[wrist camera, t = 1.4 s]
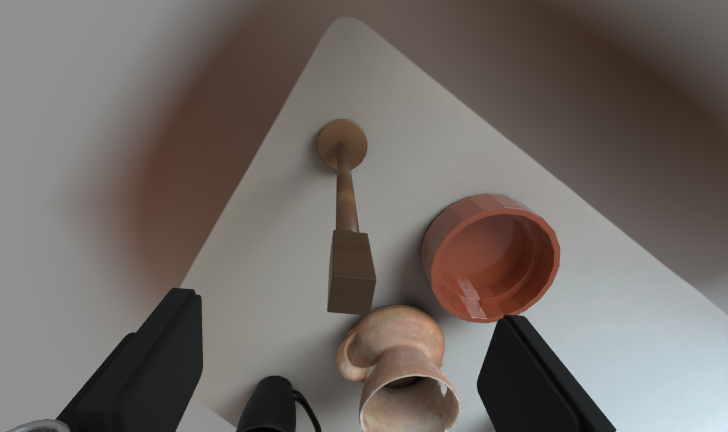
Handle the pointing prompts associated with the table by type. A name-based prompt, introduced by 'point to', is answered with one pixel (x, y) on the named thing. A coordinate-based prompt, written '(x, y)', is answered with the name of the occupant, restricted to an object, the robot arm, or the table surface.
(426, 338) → the ceramic jug
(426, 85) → the table surface
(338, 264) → the wooden dowel plunger
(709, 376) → the table surface
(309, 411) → the mug
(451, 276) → the mixing bowl
